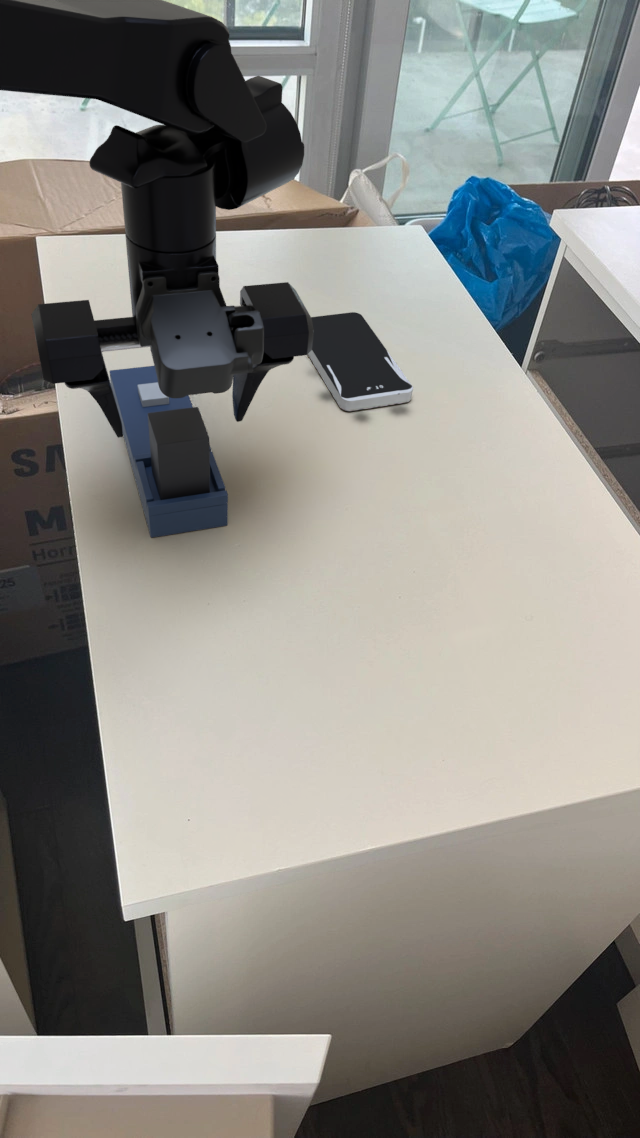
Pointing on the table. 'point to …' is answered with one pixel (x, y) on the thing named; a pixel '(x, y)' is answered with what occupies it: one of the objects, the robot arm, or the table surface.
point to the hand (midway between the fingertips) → (179, 426)
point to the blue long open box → (134, 403)
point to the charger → (179, 452)
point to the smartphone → (356, 363)
